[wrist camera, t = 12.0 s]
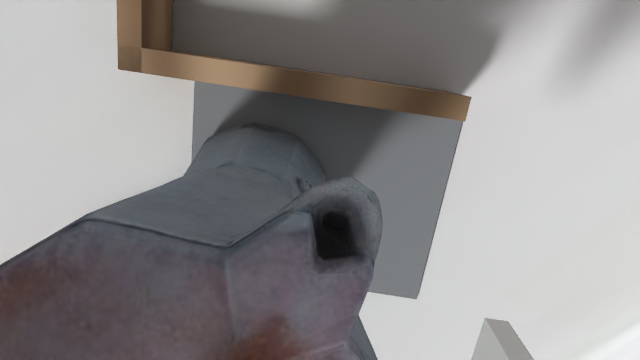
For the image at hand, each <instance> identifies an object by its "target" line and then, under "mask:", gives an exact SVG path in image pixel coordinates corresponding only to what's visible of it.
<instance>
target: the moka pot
mask: <svg viewBox="0 0 640 360" xmlns="http://www.w3.org/2000/svg"><path fill="white" fill-rule="evenodd" d="M382 228H383V221H382V211H381V206H380V202H379V199H378V197H377V195H376V194H375V192H374V191H372V190H370V189H369V188H367V187H366V186H364V185H363V184H361V183H360V182H359V181H357V180H356V179H355V178H353V177H338V178H334V179H330V180H327V181H326V175H325V171H324V169H323V168H322V166H321V165H320V163H319V161H318V160H317V158H316V157H315V156H314V155H313V153H312V152H311V151H310V149H309V148H308V147H307V146H306V145H305V144H304V143H303V142H302V140H301V139H300V138H299V137H297V136H296V135H294V134H292V133H289V132H286V131H284V130H281V129H278V128H274V127H270V126H266V125H261V124H256V123H250V124H245V125H241V126H238V127H235V128H232V129H229V130H226V131H223V132H221V133H218V134H215V135H213V136H211V137H209V138H208V139H207V140H206V141H205V142H204V144H203V145H202V147H201V149H200V150H199V152H198V153H197V155H196V157H195V158H194V160H193V162H192V163H191V165H190V166H189V168H188V170H187V171H186V173H185V174H184V176H183V177H180V178H178V179H176V180H173V181H171V182H169V183H166V184H164V185H162V186H160V187H157V188H154V189H151V190H149V191H146V192H143V193H141V194H138V195H135V196H133V197H130V198H127V199H124V200H122V201H119V202H117V203H114V204H111V205H109V206H106V207H104V208H101V209H99V210H96V211H94V212H91V213H89V214H86V215H85V216H83V217H81V218H79V219H78V220H76V221H74V222H73V223H71V224H69V225H68V226H66V227H64V228H63V229H61V230H59V231H57V232H56V233H54V234H52V235H51V236H49V237H47V238H46V239H44V240H42V241H41V242H39V243H37V244H35V245H34V246H32V247H30V248H28V249H27V250H25V251H23V252H22V253H20V254H18V255H16V256H15V257H13V258H11V259H10V260H8V261H6V262H4V263H3V264H1V265H0V360H377V357H376V355H375V352H374V350H373V347H372V345H371V343H370V341H369V338H368V336H367V334H366V332H365V329H364V327H363V325H362V322H361V320H360V317H359V315H358V314H359V311H360V309H361V306H362V304H363V301H364V299H365V297H366V294H367V292H368V289H369V287H370V284H371V282H372V279H373V273H374V264H375V260H376V256H377V253H378V250H379V245H380V241H381V236H382Z"/></svg>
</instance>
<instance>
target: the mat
mask: <svg viewBox="0 0 640 360" xmlns="http://www.w3.org/2000/svg"><path fill="white" fill-rule="evenodd" d="M250 123H256V124H261V125H266V126H270V127H274V128H278V129H281V130H284V131H286V132H289V133H292V134H294V135H296V136H297V137H299V138H300V139H301V140H302V142H303V143H304V144H305V145H306V146H307V147H308V148H309V149H310V151H311V152H312V153H313V155H314V156H315V157H316V158H317V160H318V161H319V163H320V165H321V166H322V168H323V169H324V171H325V175H326V181H327V180H330V179H334V178H338V177H353V178H355V179H356V180H357V181H359V182H360V183H361V184H363V185H364V186H366V187H367V188H369V189H370V190H372V191H374V192H375V194H376V195H377V197H378V199H379V202H380V206H381V211H382V221H383V228H382V236H381V241H380V245H379V250H378V253H377V256H376V260H375V264H374V273H373V279H372V282H371V284H370V287H369V289H368V292H373V293H380V294H386V295H393V296H400V297H406V298H413V299H417V296H418V292H419V288H420V284H421V280H422V276H423V272H424V269H425V265H426V261H427V257H428V253H429V249H430V245H431V241H432V238H433V234H434V230H435V226H436V222H437V218H438V214H439V210H440V207H441V203H442V199H443V195H444V191H445V187H446V183H447V179H448V176H449V172H450V168H451V164H452V160H453V156H454V152H455V148H456V145H457V141H458V137H459V133H460V129H461V125H462V121H459V120H453V119H446V118H440V117H433V116H426V115H420V114H413V113H406V112H400V111H393V110H386V109H380V108H373V107H366V106H360V105H353V104H346V103H340V102H333V101H326V100H320V99H313V98H306V97H300V96H293V95H286V94H280V93H273V92H266V91H260V90H253V89H246V88H240V87H233V86H226V85H220V84H213V83H206V82H200V81H195V88H194V113H193V138H192V162H193V160H194V158H195V157H196V155H197V153H198V152H199V150H200V149H201V147H202V145H203V144H204V142H205V141H206V140H207V139H208V138H209V137H211V136H213V135H215V134H218V133H221V132H223V131H226V130H229V129H232V128H235V127H238V126H241V125H245V124H250Z"/></svg>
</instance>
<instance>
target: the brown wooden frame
mask: <svg viewBox="0 0 640 360" xmlns="http://www.w3.org/2000/svg"><path fill="white" fill-rule="evenodd" d="M172 17H173V0H117V37H118V69H120V70H126V71H133V72H140V73H146V74H153V75H160V76H166V77H173V78H180V79H186V80H193V81H200V82H206V83H213V84H220V85H226V86H233V87H240V88H246V89H253V90H260V91H266V92H273V93H280V94H286V95H293V96H300V97H306V98H313V99H320V100H326V101H333V102H340V103H346V104H353V105H360V106H366V107H373V108H380V109H386V110H393V111H400V112H406V113H413V114H420V115H426V116H433V117H440V118H446V119H453V120H459V121H465V120H466V116H467V112H468V108H469V104H470V100H471V97H468V96H464V95H460V94H456V93H452V92H447V91H440V90H433V89H427V88H420V87H413V86H406V85H400V84H393V83H386V82H380V81H373V80H366V79H360V78H353V77H346V76H340V75H333V74H326V73H320V72H313V71H306V70H300V69H293V68H286V67H279V66H273V65H266V64H259V63H253V62H246V61H239V60H233V59H226V58H219V57H213V56H206V55H199V54H193V53H186V52H179V51H173V50H172Z"/></svg>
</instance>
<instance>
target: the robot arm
mask: <svg viewBox="0 0 640 360" xmlns="http://www.w3.org/2000/svg"><path fill="white" fill-rule="evenodd" d="M471 360H534V359H533V358H532V356H531V355H530V353H529V352H528V350H527V349H526V347H525V346H524V344H523V343H522V341H521V340H520V338H519V337H518V335H517V334H516V332H515V331H514V329H513V328H512V326H511V325H510V323H509V322H508V321H502V320H495V319H488V318H485V319H484V322H483V325H482V329H481V332H480V335H479V338H478V341H477V344H476V347H475V350H474V353H473V356H472V359H471Z"/></svg>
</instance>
